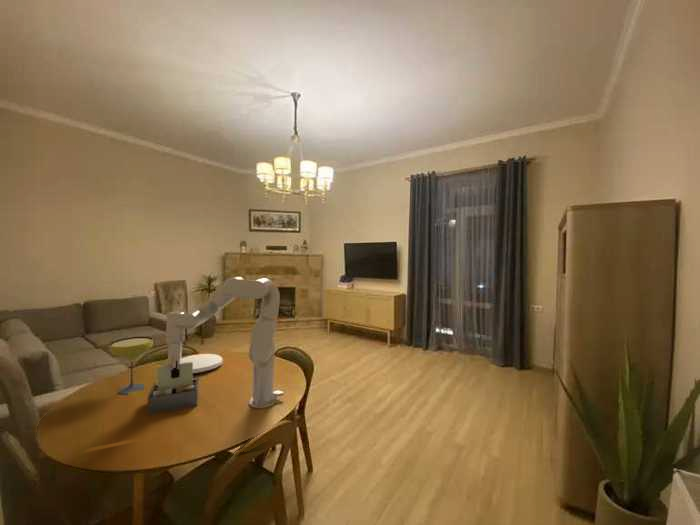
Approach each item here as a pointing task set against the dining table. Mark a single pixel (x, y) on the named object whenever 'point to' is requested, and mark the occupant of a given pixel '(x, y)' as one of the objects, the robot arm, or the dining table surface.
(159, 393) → the brown offcut
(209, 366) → the plate
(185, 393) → the rack
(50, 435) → the dining table surface
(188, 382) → the sage sheet
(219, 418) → the dining table surface
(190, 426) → the dining table surface
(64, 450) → the dining table surface
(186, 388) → the walnut offcut
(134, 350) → the cocktail glass
